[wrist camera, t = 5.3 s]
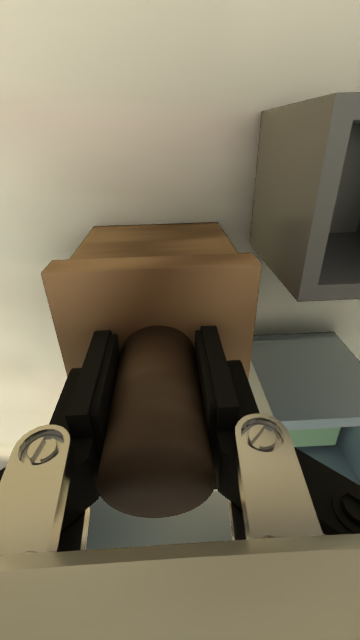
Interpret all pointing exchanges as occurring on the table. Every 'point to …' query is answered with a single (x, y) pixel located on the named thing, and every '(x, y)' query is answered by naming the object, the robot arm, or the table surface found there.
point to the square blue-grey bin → (311, 392)
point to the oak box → (154, 241)
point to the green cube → (314, 437)
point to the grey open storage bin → (310, 197)
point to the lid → (155, 364)
